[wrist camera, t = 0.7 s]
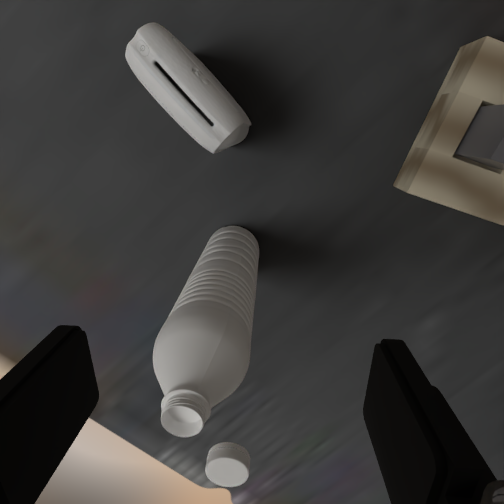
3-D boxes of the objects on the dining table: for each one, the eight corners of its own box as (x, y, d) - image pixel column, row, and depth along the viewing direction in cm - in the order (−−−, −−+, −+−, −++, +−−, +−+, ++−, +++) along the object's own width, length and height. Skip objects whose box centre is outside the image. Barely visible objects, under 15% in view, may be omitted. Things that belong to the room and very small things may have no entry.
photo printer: (160, 78, 33) (101, 52, 21) (188, 44, 32) (141, -2, 20) (229, 153, 35) (210, 166, 24) (257, 125, 34) (251, 124, 23)
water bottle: (197, 241, 39) (93, 406, 16) (241, 214, 38) (194, 355, 15) (236, 294, 42) (193, 503, 19) (278, 271, 40) (289, 468, 17)
